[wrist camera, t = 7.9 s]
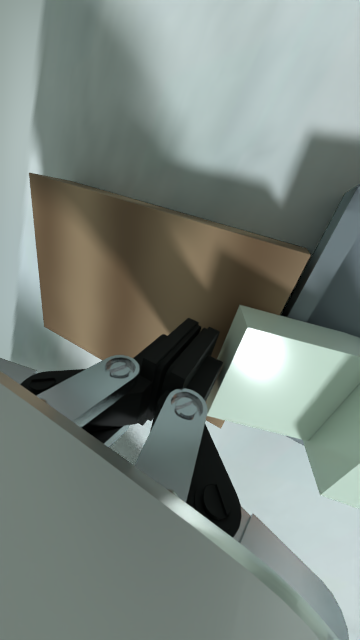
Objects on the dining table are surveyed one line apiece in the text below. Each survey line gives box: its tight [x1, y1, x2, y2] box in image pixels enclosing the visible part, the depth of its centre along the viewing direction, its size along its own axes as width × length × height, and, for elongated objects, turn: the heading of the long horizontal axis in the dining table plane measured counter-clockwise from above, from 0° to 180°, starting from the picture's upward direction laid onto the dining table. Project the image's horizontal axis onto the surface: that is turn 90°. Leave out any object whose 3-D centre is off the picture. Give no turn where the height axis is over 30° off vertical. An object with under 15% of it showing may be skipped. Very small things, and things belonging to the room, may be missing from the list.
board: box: [29, 173, 311, 428], centre depth 14 cm, size 16×11×3 cm
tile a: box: [207, 305, 360, 441], centre depth 10 cm, size 5×5×2 cm
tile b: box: [303, 334, 360, 509], centre depth 10 cm, size 5×5×2 cm
